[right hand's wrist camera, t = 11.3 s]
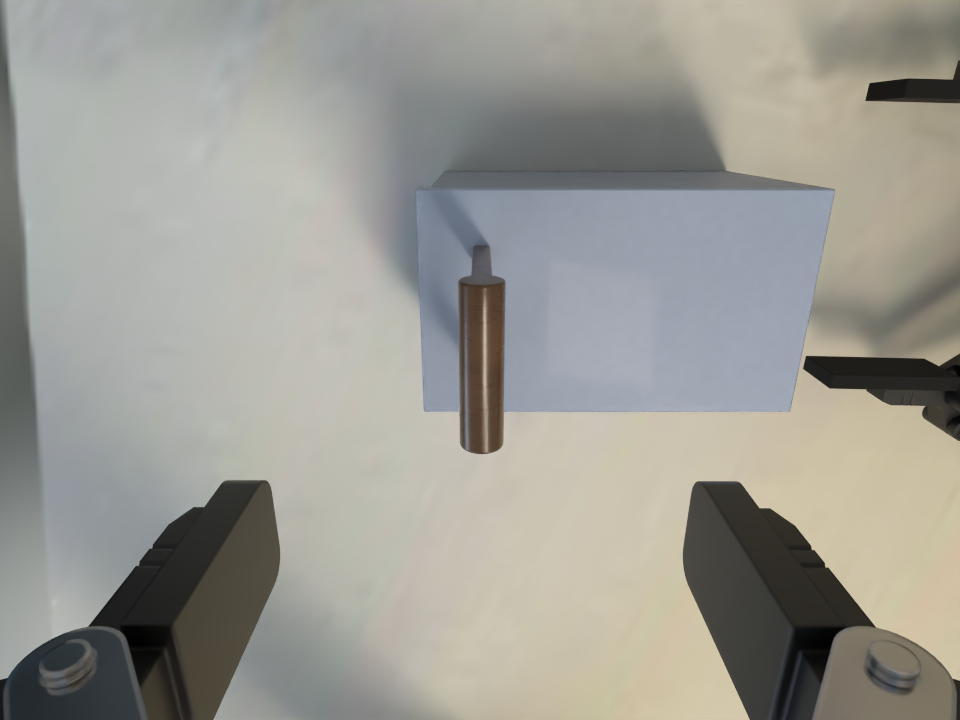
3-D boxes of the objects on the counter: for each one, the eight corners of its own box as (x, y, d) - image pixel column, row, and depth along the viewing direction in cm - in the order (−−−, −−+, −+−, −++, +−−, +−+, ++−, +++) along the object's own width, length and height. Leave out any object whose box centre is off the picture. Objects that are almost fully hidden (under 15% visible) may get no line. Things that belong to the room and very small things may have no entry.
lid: (425, 404, 28) (404, 508, 20) (417, 187, 24) (388, 213, 17) (781, 404, 28) (896, 508, 20) (824, 187, 24) (982, 213, 17)
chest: (447, 333, 37) (436, 403, 28) (444, 170, 34) (430, 187, 24) (704, 333, 37) (780, 403, 28) (726, 171, 34) (823, 187, 24)
